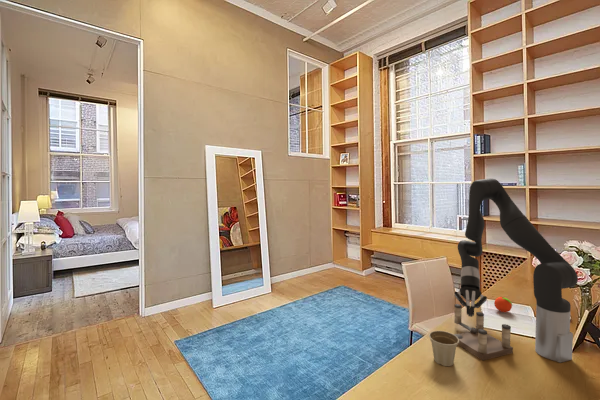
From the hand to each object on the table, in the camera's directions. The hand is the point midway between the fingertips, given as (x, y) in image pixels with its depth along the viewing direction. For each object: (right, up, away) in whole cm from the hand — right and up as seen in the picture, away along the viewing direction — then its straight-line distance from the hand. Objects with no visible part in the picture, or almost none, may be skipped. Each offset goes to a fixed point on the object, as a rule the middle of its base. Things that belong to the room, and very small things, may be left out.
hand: (470, 315), depth 126 cm
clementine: (+24, -4, +15) cm, 29 cm away
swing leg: (-4, -3, -4) cm, 7 cm away
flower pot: (-22, -7, -22) cm, 32 cm away
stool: (-4, -6, -14) cm, 15 cm away
